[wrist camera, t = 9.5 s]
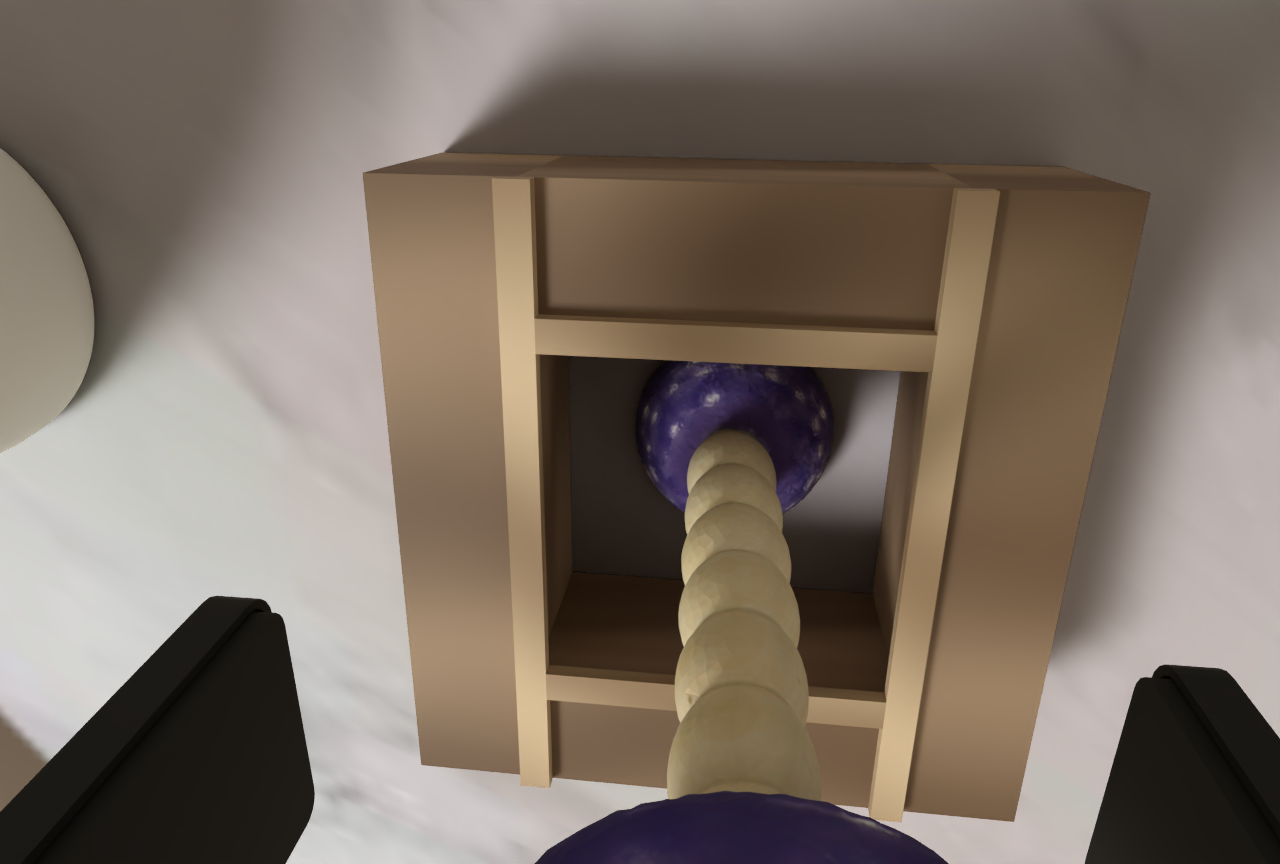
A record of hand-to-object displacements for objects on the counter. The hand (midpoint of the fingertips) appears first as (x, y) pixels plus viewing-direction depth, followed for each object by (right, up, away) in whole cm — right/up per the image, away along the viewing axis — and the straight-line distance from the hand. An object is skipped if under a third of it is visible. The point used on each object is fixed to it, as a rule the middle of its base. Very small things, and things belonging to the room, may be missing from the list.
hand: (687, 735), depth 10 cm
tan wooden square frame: (+1, +3, +10) cm, 10 cm away
